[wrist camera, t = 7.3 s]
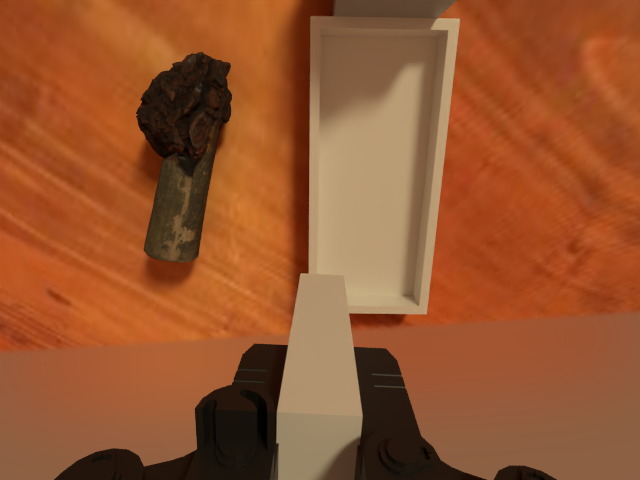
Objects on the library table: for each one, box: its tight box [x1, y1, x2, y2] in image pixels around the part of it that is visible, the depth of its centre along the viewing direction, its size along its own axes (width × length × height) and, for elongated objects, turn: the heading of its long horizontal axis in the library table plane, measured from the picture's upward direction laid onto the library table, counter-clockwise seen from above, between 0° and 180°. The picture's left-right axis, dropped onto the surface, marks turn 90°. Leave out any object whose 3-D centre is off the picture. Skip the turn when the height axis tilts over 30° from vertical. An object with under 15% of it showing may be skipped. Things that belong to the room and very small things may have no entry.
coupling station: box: [309, 0, 460, 314], centre depth 29 cm, size 12×33×11 cm, turn 179°
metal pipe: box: [136, 52, 232, 262], centre depth 32 cm, size 18×7×6 cm, turn 163°
